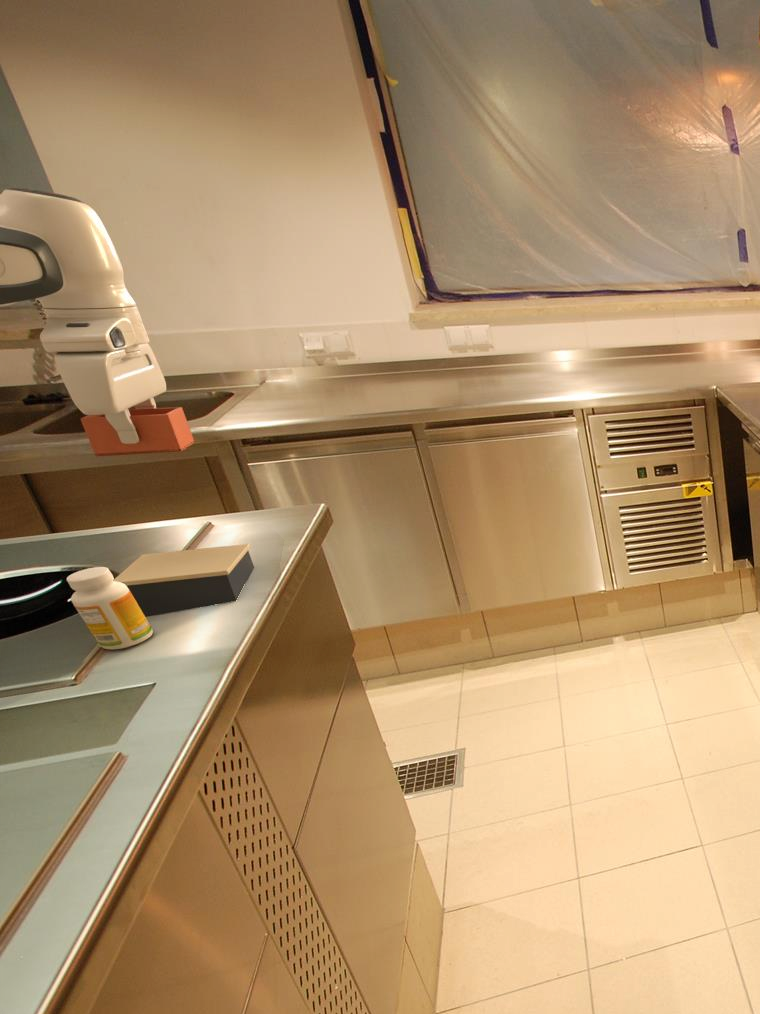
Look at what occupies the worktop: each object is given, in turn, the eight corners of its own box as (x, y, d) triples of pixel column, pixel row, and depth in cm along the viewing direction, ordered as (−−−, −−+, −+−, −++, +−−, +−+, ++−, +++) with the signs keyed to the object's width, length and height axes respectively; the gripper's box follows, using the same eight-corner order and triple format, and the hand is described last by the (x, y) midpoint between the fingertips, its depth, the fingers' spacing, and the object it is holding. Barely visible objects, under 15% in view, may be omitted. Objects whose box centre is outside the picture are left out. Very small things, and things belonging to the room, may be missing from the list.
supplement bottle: (152, 624, 113) (113, 560, 108) (156, 639, 109) (117, 573, 104) (99, 639, 110) (57, 573, 104) (102, 655, 106) (59, 587, 101)
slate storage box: (127, 624, 114) (109, 583, 112) (157, 592, 124) (142, 554, 122) (241, 610, 119) (227, 570, 117) (262, 580, 130) (249, 543, 127)
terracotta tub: (95, 456, 112) (79, 418, 109) (113, 447, 116) (98, 410, 114) (181, 451, 115) (167, 414, 113) (194, 442, 120) (181, 407, 118)
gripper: (100, 324, 116) (139, 424, 122) (32, 339, 100) (81, 454, 106) (158, 323, 119) (194, 422, 125) (101, 337, 102) (145, 450, 108)
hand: (142, 437), depth 115 cm, fingers closed on terracotta tub, 6 cm apart
